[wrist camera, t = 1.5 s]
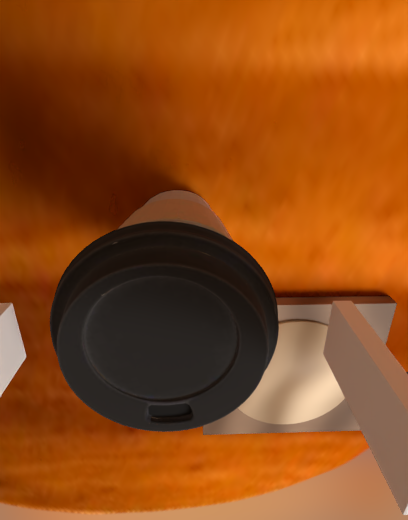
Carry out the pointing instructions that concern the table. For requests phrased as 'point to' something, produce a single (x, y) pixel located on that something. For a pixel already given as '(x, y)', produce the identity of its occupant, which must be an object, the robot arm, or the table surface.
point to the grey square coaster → (303, 372)
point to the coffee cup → (165, 319)
